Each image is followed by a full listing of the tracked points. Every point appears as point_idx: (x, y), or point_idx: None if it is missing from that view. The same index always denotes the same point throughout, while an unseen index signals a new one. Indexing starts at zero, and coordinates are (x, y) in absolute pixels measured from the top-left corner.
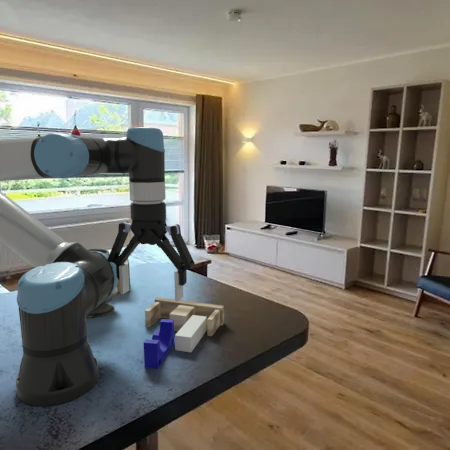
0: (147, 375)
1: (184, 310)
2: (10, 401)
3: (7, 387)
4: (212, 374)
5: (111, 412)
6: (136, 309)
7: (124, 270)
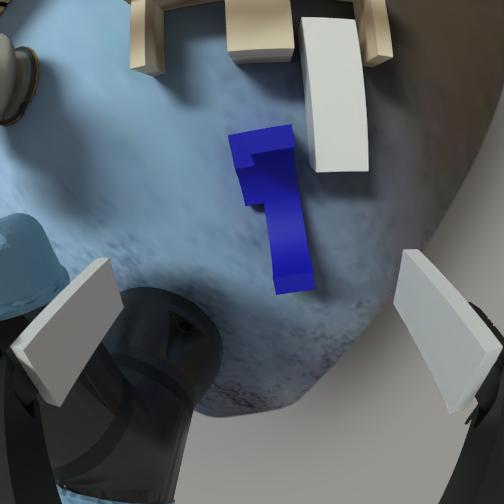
0: None
1: (266, 9)
2: None
3: None
4: (422, 238)
5: (290, 370)
6: (79, 18)
7: (61, 366)
